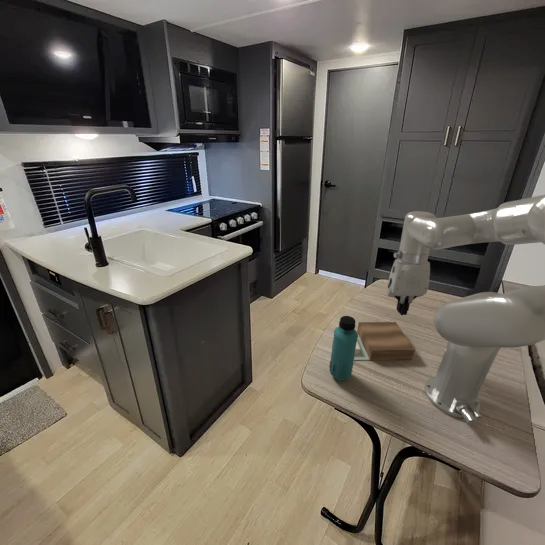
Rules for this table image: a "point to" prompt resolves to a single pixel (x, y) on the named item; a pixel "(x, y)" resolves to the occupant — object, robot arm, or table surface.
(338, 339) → the beverage bottle
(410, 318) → the table surface
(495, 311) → the robot arm
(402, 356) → the flat brown wooden block
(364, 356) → the mat
